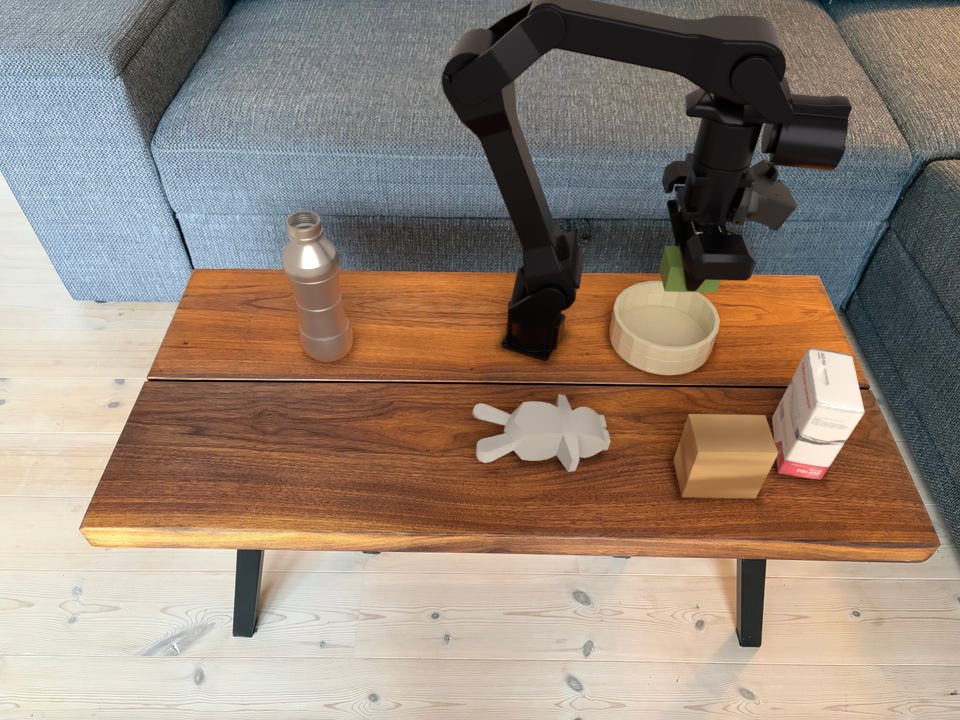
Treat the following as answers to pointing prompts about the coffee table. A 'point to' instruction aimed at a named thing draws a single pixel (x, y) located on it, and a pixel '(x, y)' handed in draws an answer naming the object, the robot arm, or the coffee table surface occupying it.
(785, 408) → the ink box
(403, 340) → the coffee table surface
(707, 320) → the bowl
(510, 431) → the bunny figurine
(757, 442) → the block
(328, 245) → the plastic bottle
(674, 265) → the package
